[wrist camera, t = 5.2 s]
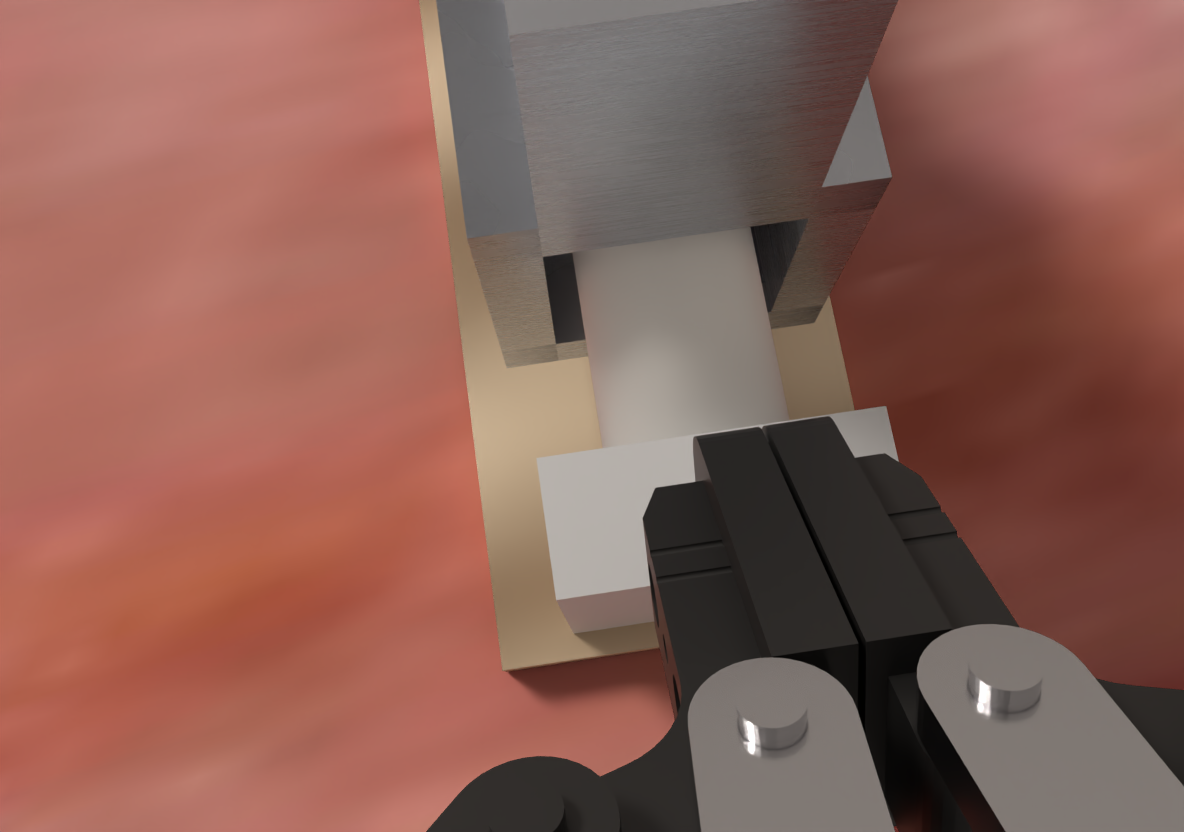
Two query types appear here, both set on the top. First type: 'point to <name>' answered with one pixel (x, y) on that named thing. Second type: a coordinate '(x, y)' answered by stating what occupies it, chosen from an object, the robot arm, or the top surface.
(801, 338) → the base board
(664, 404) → the rod
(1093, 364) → the top surface
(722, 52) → the grooved slider block
